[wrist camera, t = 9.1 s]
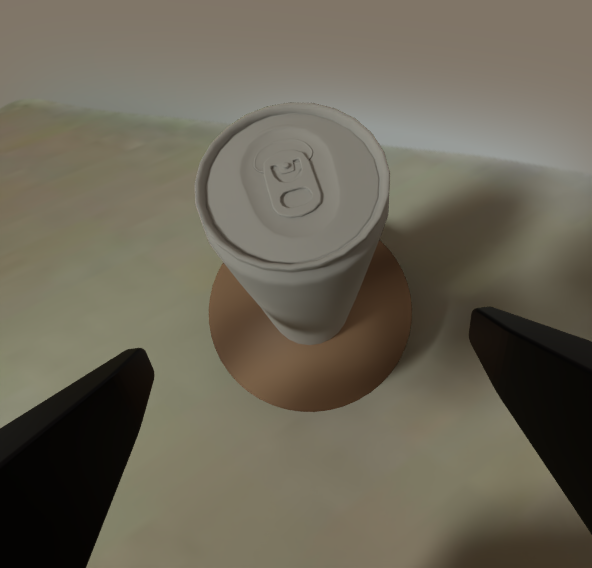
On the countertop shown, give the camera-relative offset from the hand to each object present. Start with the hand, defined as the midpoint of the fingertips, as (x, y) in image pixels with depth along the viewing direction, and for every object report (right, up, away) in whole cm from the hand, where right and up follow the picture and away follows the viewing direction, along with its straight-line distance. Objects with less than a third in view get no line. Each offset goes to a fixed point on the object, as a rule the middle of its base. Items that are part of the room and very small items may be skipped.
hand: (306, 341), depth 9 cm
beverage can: (+1, 0, +10) cm, 10 cm away
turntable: (+1, 0, +11) cm, 11 cm away
